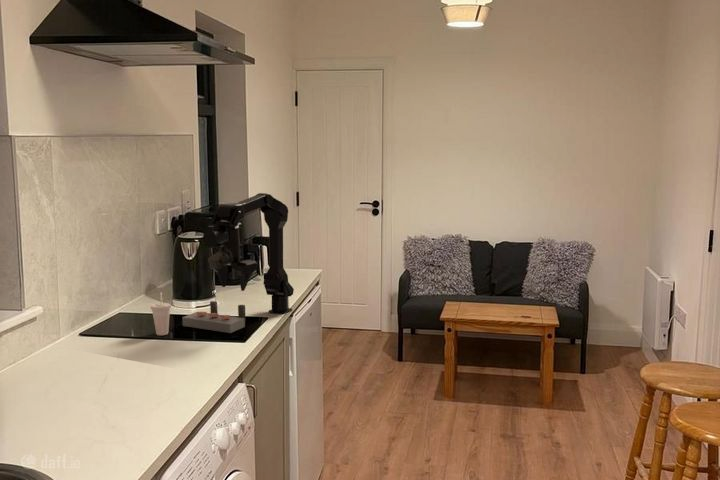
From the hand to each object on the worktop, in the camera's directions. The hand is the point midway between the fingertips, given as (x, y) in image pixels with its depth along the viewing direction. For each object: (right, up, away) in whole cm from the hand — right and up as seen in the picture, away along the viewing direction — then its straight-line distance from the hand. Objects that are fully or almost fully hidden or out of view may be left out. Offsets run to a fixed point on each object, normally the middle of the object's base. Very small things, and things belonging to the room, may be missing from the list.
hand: (233, 288), depth 236 cm
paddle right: (-3, -11, +3) cm, 11 cm away
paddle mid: (-8, -10, +5) cm, 14 cm away
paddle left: (-12, -10, +8) cm, 17 cm away
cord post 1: (-9, -12, +16) cm, 22 cm away
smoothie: (-23, -15, -2) cm, 27 cm away
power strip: (-8, -13, +6) cm, 16 cm away
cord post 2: (+1, -12, +10) cm, 16 cm away
